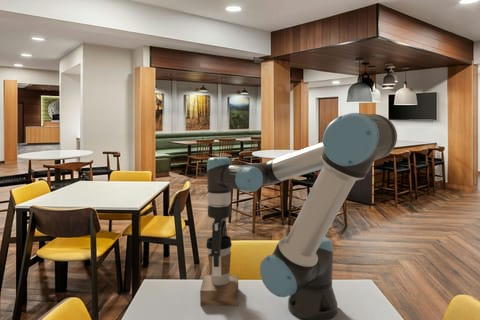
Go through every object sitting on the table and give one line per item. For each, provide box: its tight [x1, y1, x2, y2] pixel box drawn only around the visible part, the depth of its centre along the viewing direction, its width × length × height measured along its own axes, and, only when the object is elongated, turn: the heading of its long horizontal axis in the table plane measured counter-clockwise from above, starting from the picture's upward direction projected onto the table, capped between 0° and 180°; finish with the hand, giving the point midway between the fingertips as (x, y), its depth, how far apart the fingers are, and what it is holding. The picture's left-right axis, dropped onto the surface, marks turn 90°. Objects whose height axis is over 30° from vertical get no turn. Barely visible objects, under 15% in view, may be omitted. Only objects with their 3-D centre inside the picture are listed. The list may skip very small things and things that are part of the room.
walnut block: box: [199, 274, 239, 307], centre depth 125 cm, size 12×12×5 cm
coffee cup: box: [205, 235, 233, 286], centre depth 125 cm, size 8×8×15 cm
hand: (219, 267), depth 125 cm, fingers open, 13 cm apart
